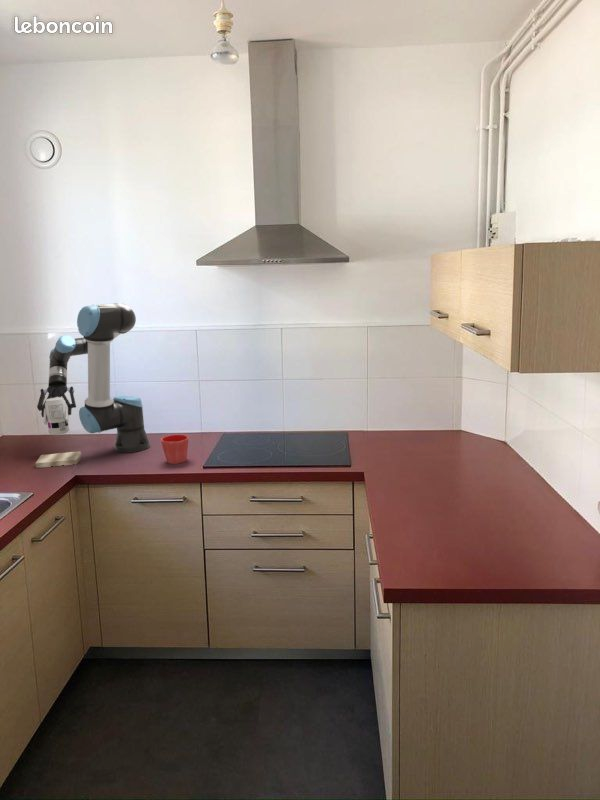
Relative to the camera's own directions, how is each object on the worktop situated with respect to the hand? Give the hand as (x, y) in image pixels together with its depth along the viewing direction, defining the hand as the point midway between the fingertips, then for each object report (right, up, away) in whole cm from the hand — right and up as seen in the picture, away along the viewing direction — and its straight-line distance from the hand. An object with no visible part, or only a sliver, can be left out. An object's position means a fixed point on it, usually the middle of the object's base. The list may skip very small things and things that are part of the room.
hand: (56, 421), depth 264 cm
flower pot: (+54, -16, -12) cm, 57 cm away
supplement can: (0, -5, +4) cm, 7 cm away
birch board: (+4, -16, -6) cm, 18 cm away
